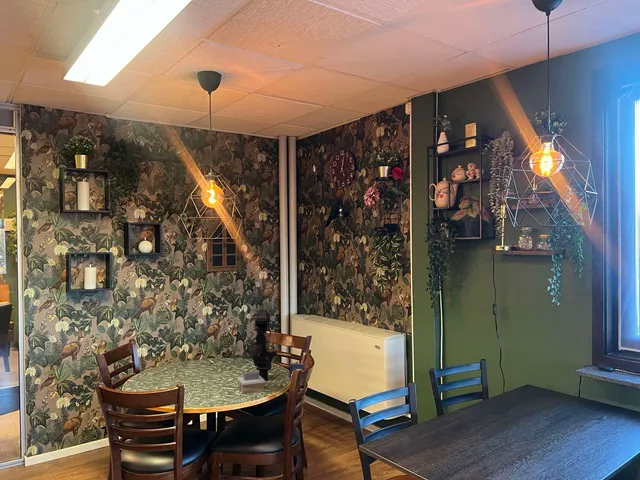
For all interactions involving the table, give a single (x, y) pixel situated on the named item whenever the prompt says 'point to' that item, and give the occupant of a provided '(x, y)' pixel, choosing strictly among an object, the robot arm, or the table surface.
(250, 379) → the lid
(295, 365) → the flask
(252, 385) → the box
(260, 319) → the robot arm
